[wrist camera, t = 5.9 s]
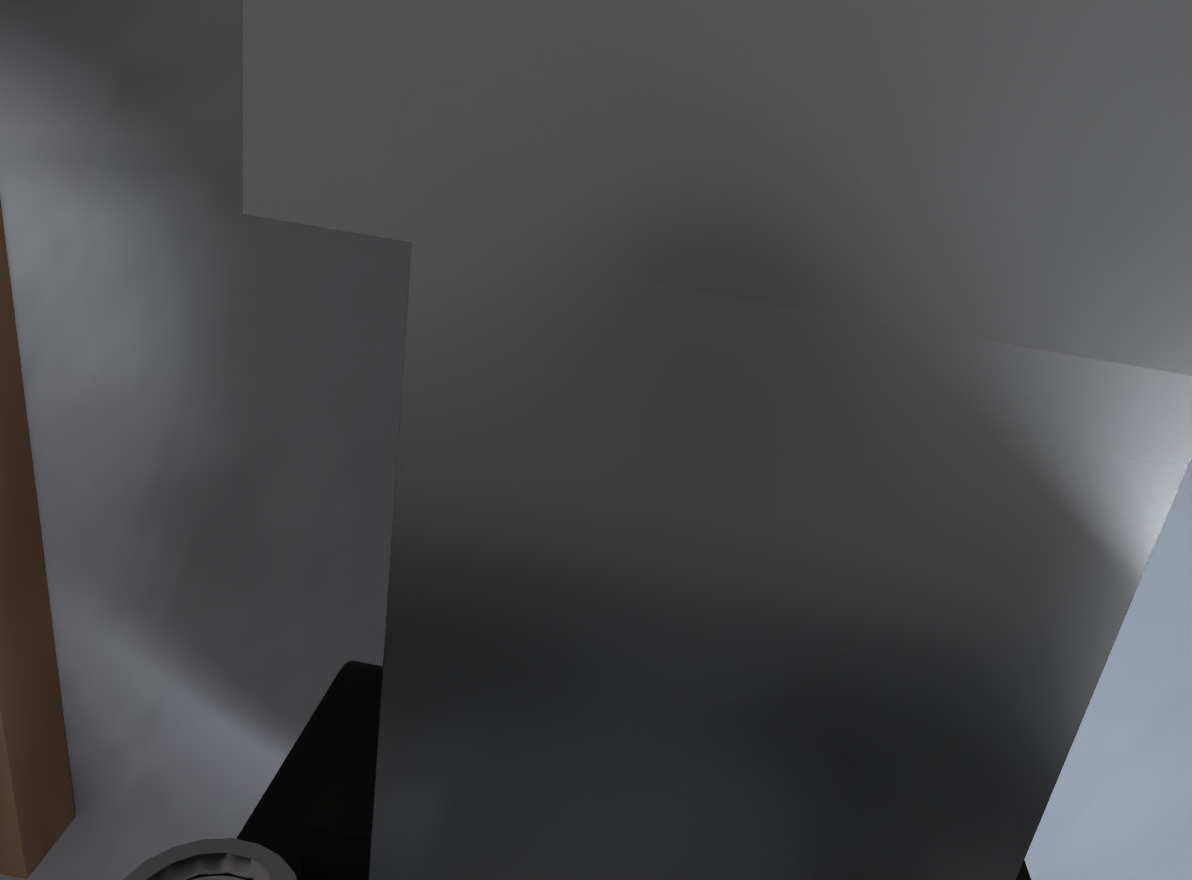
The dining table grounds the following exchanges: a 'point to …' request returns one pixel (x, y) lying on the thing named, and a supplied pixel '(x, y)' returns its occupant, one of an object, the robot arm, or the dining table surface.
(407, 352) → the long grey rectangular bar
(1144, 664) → the dining table surface
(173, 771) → the dining table surface
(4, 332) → the peg rack
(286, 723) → the dining table surface
